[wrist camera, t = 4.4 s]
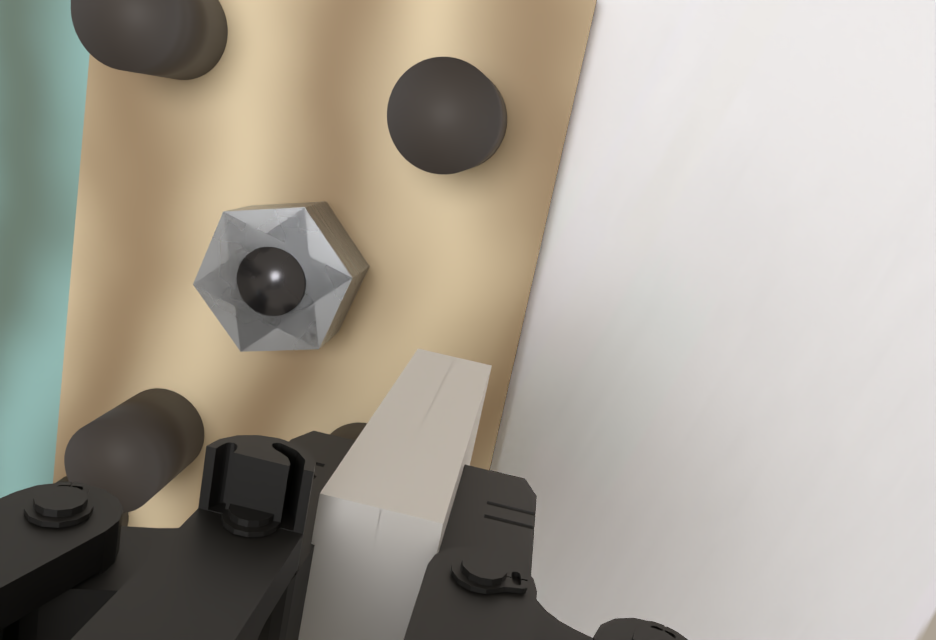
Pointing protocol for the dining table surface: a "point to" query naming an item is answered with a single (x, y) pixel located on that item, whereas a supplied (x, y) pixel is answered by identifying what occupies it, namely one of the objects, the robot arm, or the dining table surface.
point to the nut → (281, 275)
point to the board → (259, 183)
